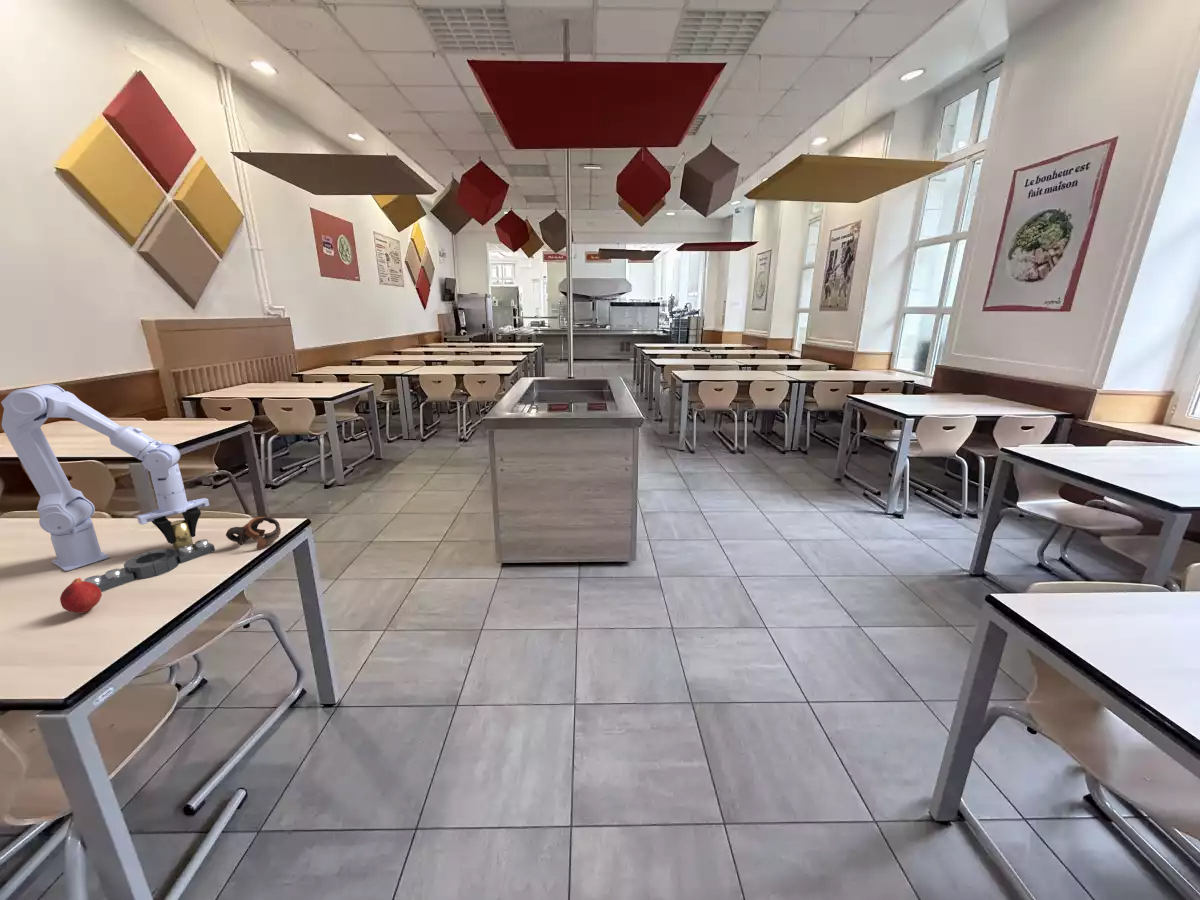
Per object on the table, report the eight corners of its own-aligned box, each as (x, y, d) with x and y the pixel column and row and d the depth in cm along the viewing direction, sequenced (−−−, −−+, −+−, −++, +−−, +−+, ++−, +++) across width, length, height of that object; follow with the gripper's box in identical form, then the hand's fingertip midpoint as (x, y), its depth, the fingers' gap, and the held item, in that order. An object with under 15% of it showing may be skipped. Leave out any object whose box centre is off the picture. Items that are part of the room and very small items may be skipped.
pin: (171, 548, 129) (164, 524, 127) (188, 542, 132) (183, 518, 131) (178, 551, 127) (172, 527, 125) (196, 545, 131) (190, 521, 129)
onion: (79, 622, 99) (68, 588, 96) (58, 619, 100) (46, 584, 97) (112, 606, 104) (102, 573, 102) (91, 603, 105) (81, 570, 103)
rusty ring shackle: (275, 533, 140) (281, 512, 137) (278, 558, 134) (285, 537, 131) (222, 534, 132) (227, 513, 128) (224, 561, 126) (229, 539, 123)
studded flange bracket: (78, 586, 111) (74, 575, 110) (201, 544, 131) (199, 534, 131) (95, 598, 107) (91, 586, 106) (219, 553, 127) (217, 542, 126)
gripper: (141, 503, 118) (154, 554, 121) (210, 485, 130) (220, 532, 134) (128, 498, 121) (141, 547, 125) (197, 481, 133) (207, 526, 137)
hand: (181, 539), depth 129 cm, fingers closed on pin, 4 cm apart
